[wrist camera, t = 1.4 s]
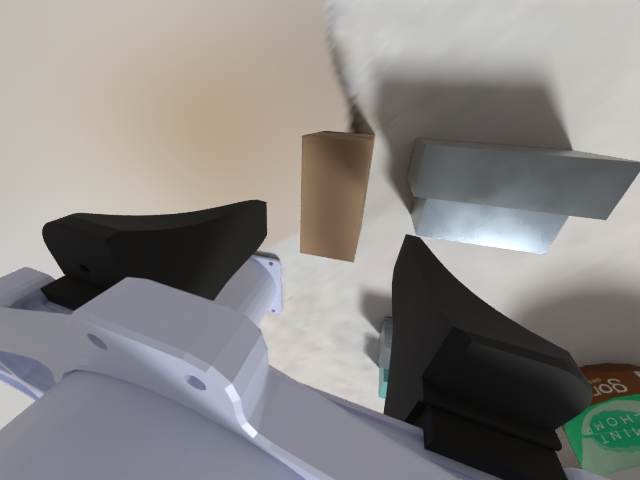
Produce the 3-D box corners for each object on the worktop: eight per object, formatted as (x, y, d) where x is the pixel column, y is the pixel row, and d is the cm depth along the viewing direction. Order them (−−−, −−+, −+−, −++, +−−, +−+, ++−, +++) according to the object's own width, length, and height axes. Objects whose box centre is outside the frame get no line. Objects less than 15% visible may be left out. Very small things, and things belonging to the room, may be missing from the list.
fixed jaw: (398, 213, 20) (402, 239, 16) (416, 138, 17) (426, 144, 13) (529, 231, 18) (574, 265, 14) (573, 150, 16) (645, 162, 11)
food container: (620, 333, 20) (793, 490, 12) (681, 366, 20) (899, 548, 12) (504, 392, 27) (562, 523, 18) (551, 418, 27) (631, 561, 18)
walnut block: (319, 222, 23) (300, 252, 17) (325, 130, 19) (302, 135, 14) (360, 228, 22) (353, 262, 17) (375, 134, 18) (371, 141, 13)
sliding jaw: (371, 367, 30) (369, 399, 26) (384, 316, 26) (384, 347, 22) (437, 384, 28) (444, 421, 25) (463, 333, 24) (476, 369, 21)
